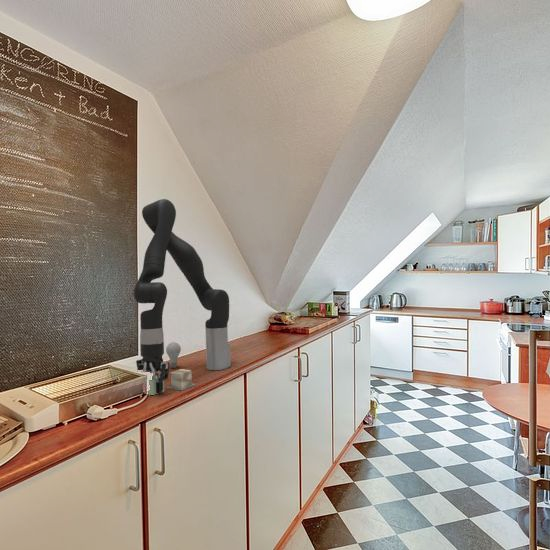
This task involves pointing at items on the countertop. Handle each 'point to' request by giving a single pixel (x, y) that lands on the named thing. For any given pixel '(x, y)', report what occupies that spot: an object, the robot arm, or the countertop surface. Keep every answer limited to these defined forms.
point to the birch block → (181, 378)
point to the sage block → (153, 386)
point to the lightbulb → (173, 353)
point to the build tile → (182, 388)
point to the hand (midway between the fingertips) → (153, 391)
